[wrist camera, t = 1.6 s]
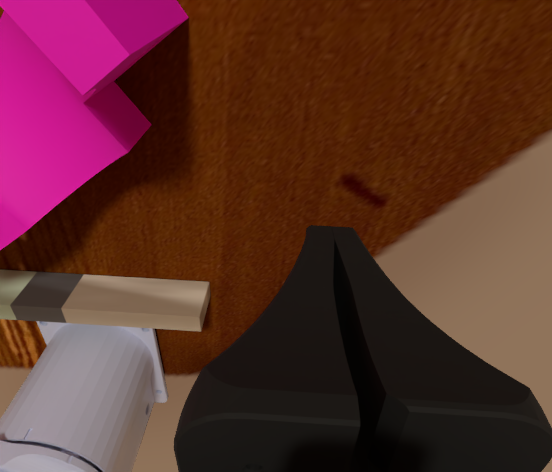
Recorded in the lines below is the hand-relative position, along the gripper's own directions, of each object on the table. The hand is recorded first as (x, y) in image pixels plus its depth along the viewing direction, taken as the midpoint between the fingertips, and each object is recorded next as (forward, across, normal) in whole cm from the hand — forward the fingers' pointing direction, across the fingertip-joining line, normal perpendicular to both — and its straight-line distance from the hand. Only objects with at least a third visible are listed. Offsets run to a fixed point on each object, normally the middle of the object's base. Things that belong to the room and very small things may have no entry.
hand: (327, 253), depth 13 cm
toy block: (+10, +12, -1) cm, 16 cm away
